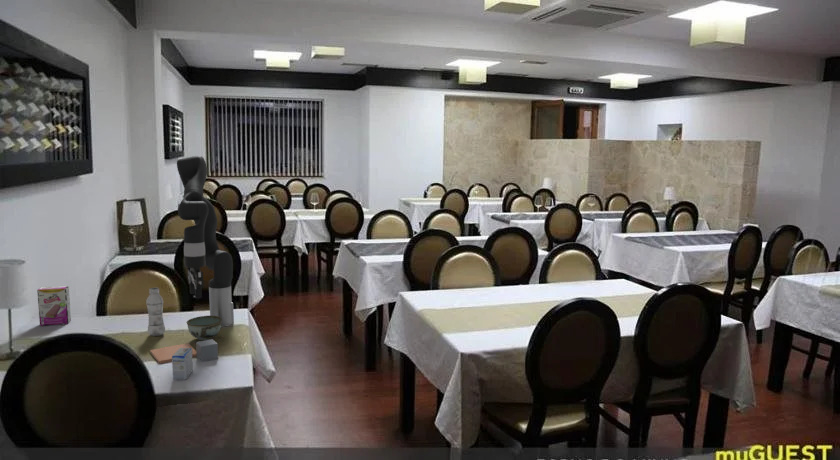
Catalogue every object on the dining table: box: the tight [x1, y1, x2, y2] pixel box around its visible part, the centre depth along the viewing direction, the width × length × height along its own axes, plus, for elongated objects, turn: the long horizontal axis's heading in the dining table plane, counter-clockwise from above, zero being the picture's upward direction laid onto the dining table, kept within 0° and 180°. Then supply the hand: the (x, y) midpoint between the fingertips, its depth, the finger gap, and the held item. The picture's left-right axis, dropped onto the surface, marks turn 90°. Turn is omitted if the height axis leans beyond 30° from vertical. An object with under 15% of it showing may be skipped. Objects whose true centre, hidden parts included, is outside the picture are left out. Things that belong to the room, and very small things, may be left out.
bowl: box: [186, 315, 222, 342], centre depth 238 cm, size 14×13×8 cm
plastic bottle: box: [145, 287, 166, 337], centre depth 241 cm, size 6×7×20 cm
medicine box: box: [171, 348, 194, 381], centre depth 200 cm, size 8×4×9 cm, turn 5°
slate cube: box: [195, 338, 219, 363], centre depth 217 cm, size 6×6×6 cm
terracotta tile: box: [149, 342, 197, 364], centre depth 221 cm, size 14×14×1 cm
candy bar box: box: [36, 285, 72, 327], centre depth 255 cm, size 11×5×16 cm, turn 108°
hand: (195, 296), depth 221 cm, fingers open, 8 cm apart
